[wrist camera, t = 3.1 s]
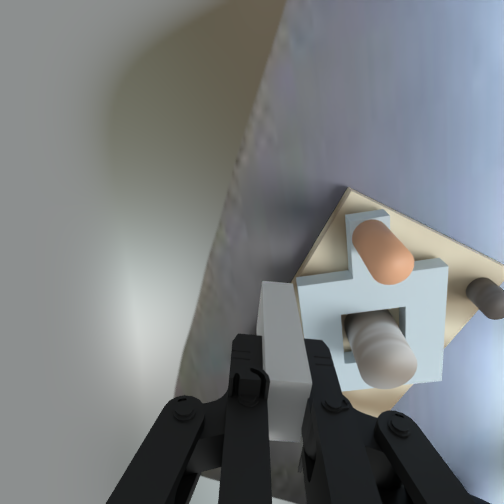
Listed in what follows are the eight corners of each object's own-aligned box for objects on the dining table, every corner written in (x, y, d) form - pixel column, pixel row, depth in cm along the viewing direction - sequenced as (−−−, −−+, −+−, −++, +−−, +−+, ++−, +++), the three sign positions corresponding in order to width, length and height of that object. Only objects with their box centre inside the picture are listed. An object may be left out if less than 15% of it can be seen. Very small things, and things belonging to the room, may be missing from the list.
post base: (348, 186, 29) (372, 214, 23) (504, 264, 32) (564, 308, 26) (244, 360, 37) (240, 417, 31) (376, 412, 40) (399, 474, 33)
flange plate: (433, 368, 35) (470, 426, 29) (309, 382, 36) (319, 441, 30) (442, 200, 28) (491, 230, 22) (288, 223, 29) (296, 258, 23)
